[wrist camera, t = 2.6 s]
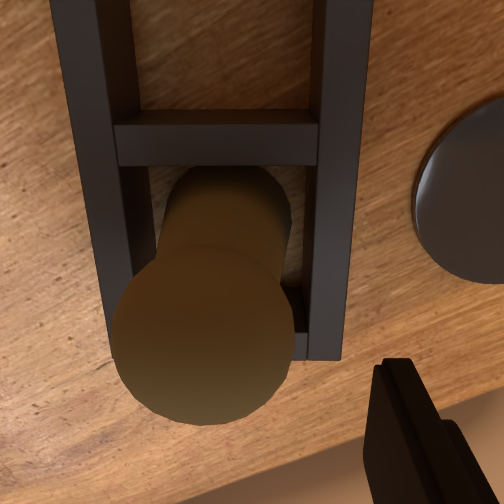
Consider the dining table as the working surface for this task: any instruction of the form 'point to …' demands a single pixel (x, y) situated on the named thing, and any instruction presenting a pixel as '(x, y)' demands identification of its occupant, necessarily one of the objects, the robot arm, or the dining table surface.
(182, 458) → the dining table surface
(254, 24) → the dining table surface
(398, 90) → the dining table surface
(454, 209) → the coaster
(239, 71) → the dining table surface
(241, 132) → the holder
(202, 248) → the cork
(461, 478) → the robot arm
